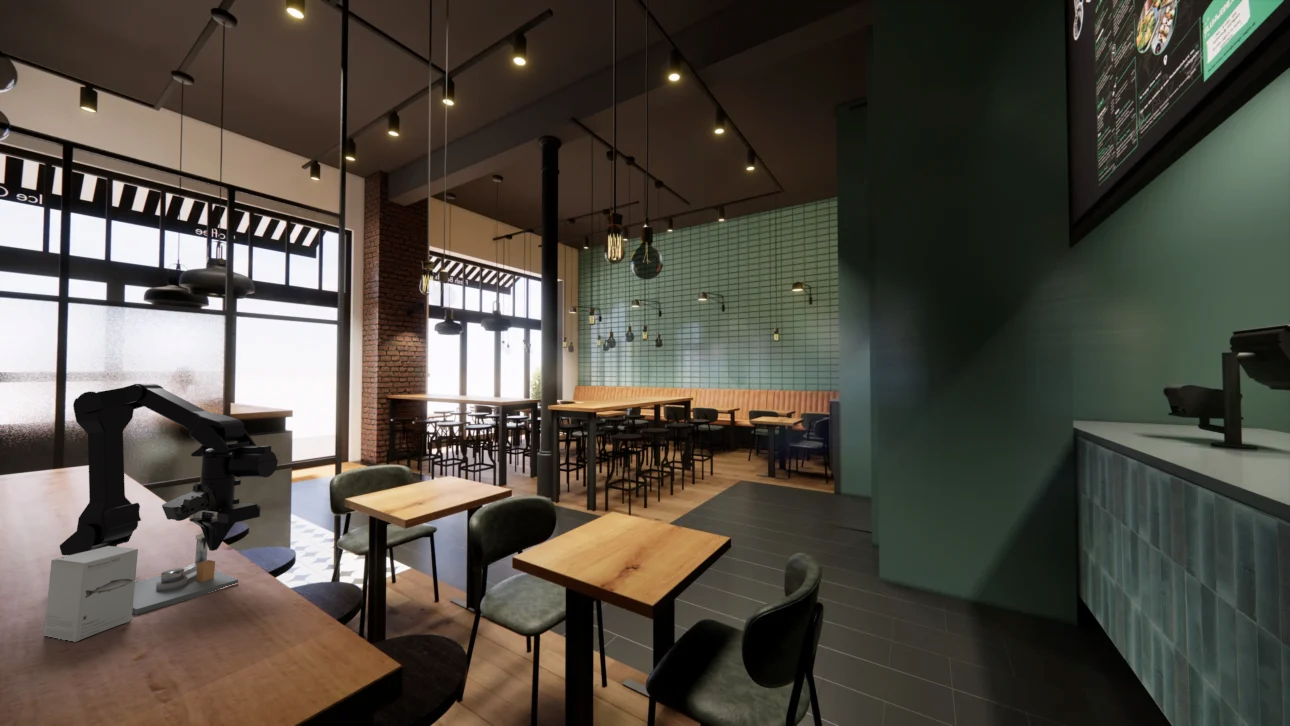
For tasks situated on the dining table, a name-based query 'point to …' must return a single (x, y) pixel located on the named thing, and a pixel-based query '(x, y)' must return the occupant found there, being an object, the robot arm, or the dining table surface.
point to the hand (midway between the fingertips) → (213, 550)
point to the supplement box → (90, 592)
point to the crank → (179, 573)
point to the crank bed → (178, 588)
